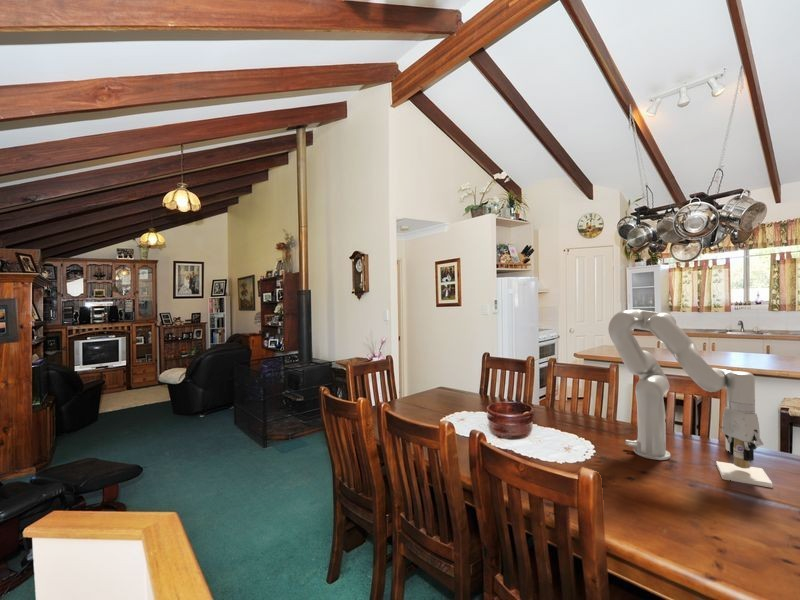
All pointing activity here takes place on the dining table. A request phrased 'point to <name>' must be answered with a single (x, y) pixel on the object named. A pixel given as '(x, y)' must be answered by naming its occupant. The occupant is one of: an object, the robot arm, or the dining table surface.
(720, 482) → the dining table surface
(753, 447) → the robot arm
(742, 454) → the sprinkles bottle
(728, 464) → the ceramic tile
